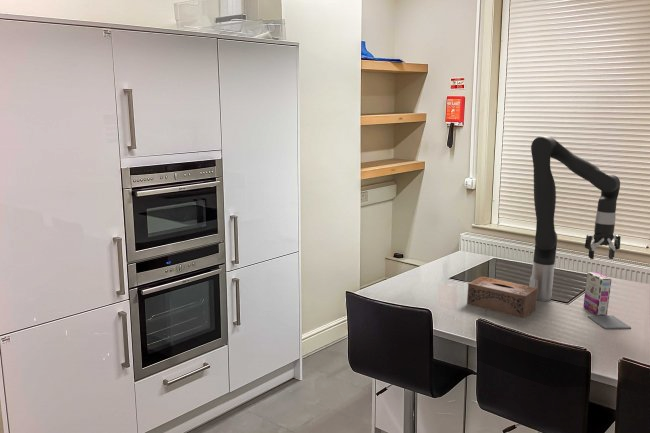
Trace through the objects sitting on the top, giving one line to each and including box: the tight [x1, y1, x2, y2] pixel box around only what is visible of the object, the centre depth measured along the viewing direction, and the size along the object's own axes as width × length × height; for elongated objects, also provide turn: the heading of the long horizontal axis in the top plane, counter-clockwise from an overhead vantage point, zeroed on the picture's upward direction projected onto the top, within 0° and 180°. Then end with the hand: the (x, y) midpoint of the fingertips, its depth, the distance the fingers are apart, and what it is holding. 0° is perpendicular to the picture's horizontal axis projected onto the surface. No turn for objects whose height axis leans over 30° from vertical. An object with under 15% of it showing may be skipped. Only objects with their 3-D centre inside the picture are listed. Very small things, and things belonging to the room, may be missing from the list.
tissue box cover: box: [466, 276, 538, 319], centre depth 245 cm, size 26×14×10 cm, turn 51°
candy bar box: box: [582, 271, 612, 316], centre depth 241 cm, size 11×5×16 cm, turn 5°
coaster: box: [587, 315, 632, 330], centre depth 229 cm, size 11×13×1 cm
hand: (601, 258), depth 238 cm, fingers open, 8 cm apart
